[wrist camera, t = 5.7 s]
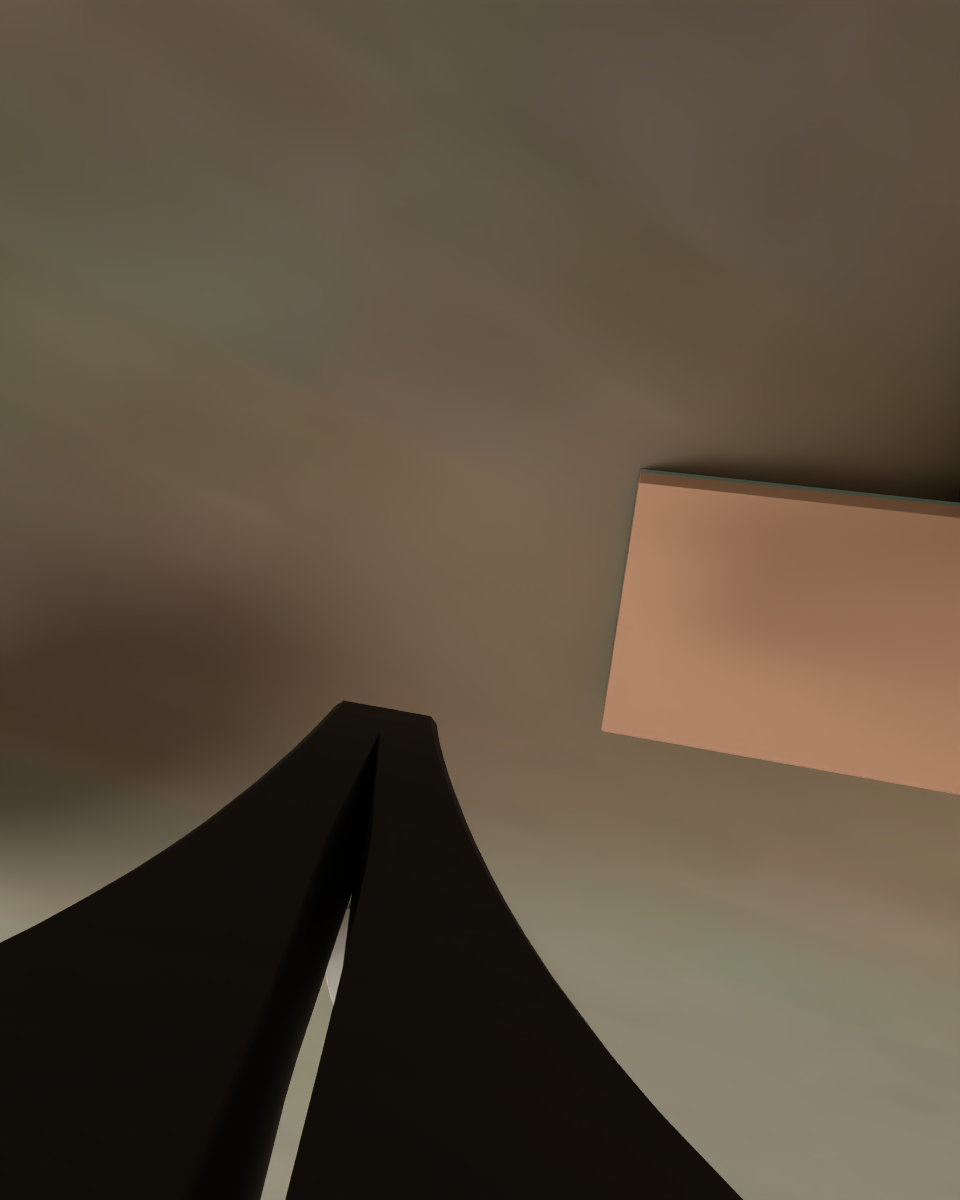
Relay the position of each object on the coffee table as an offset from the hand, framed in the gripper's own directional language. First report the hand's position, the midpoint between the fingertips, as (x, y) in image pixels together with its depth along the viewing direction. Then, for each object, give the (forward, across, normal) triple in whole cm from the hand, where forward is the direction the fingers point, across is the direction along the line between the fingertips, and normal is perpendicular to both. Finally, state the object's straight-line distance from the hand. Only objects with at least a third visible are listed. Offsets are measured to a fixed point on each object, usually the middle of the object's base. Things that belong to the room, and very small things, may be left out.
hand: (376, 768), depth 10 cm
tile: (+6, -8, -1) cm, 10 cm away
